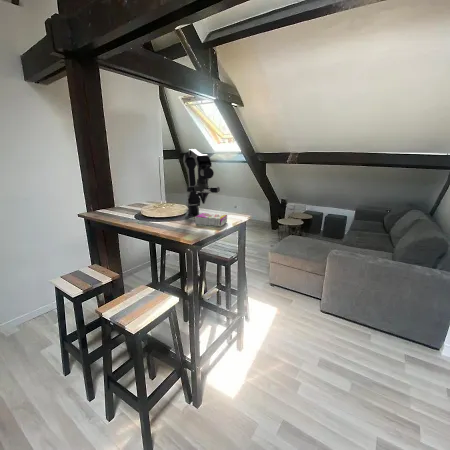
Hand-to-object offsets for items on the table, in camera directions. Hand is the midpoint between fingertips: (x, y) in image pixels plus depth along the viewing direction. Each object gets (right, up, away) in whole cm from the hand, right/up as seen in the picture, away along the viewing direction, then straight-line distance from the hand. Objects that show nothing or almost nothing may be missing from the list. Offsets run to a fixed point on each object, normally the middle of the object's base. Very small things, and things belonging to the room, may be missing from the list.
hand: (203, 203), depth 143 cm
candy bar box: (-4, -8, +3) cm, 10 cm away
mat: (+4, -12, +3) cm, 13 cm away
